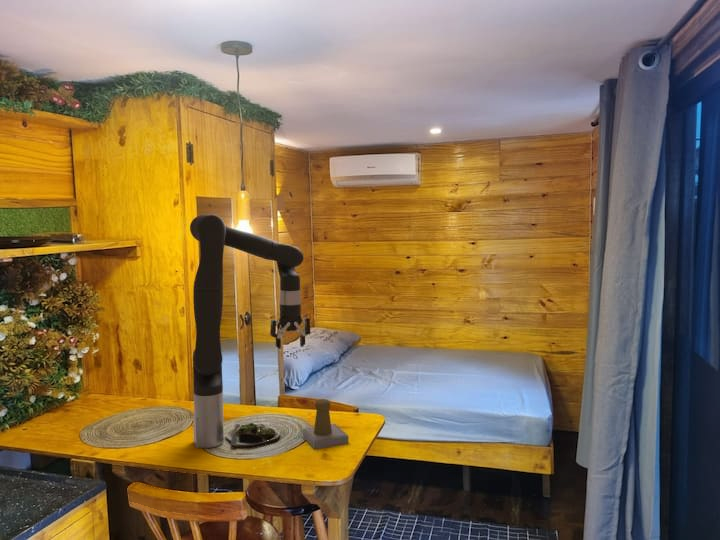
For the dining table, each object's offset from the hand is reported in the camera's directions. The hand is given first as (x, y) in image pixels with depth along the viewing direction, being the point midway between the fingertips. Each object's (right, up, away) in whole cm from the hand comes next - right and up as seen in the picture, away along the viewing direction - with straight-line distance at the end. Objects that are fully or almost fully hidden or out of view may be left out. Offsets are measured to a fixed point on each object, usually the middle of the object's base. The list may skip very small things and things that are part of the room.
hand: (290, 347), depth 196 cm
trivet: (+13, -29, -12) cm, 34 cm away
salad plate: (-11, -30, -11) cm, 34 cm away
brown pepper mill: (+12, -27, -13) cm, 32 cm away
